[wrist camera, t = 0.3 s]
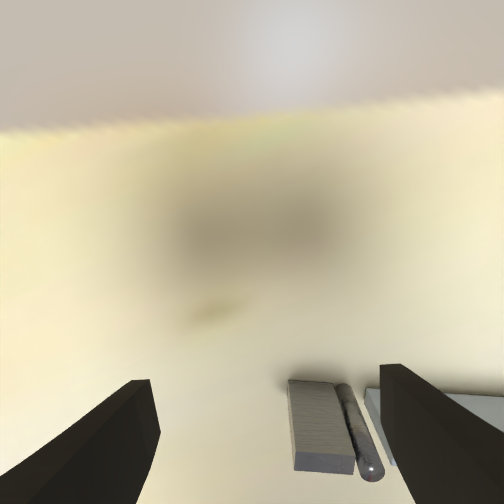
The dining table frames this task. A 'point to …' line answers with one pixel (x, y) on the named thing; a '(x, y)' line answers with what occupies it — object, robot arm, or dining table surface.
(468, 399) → the door
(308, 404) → the door frame
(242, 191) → the dining table surface
